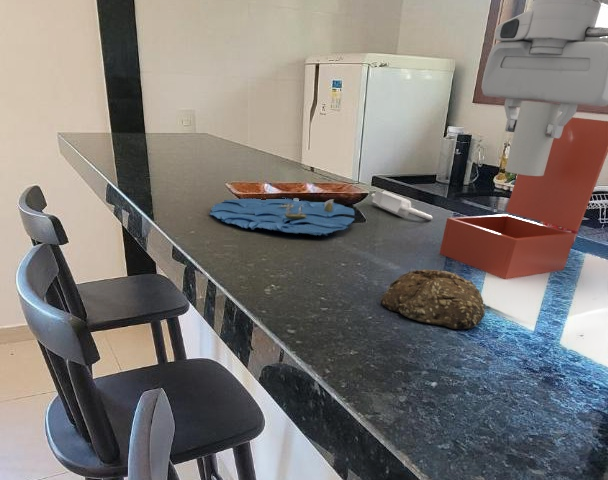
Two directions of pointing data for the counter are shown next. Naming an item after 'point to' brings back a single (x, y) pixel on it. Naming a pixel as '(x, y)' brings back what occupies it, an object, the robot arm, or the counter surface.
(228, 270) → the counter surface
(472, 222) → the open terracotta box
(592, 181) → the lid
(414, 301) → the bread roll
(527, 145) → the white cylinder
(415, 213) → the white stepped rod
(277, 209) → the sea diorama
